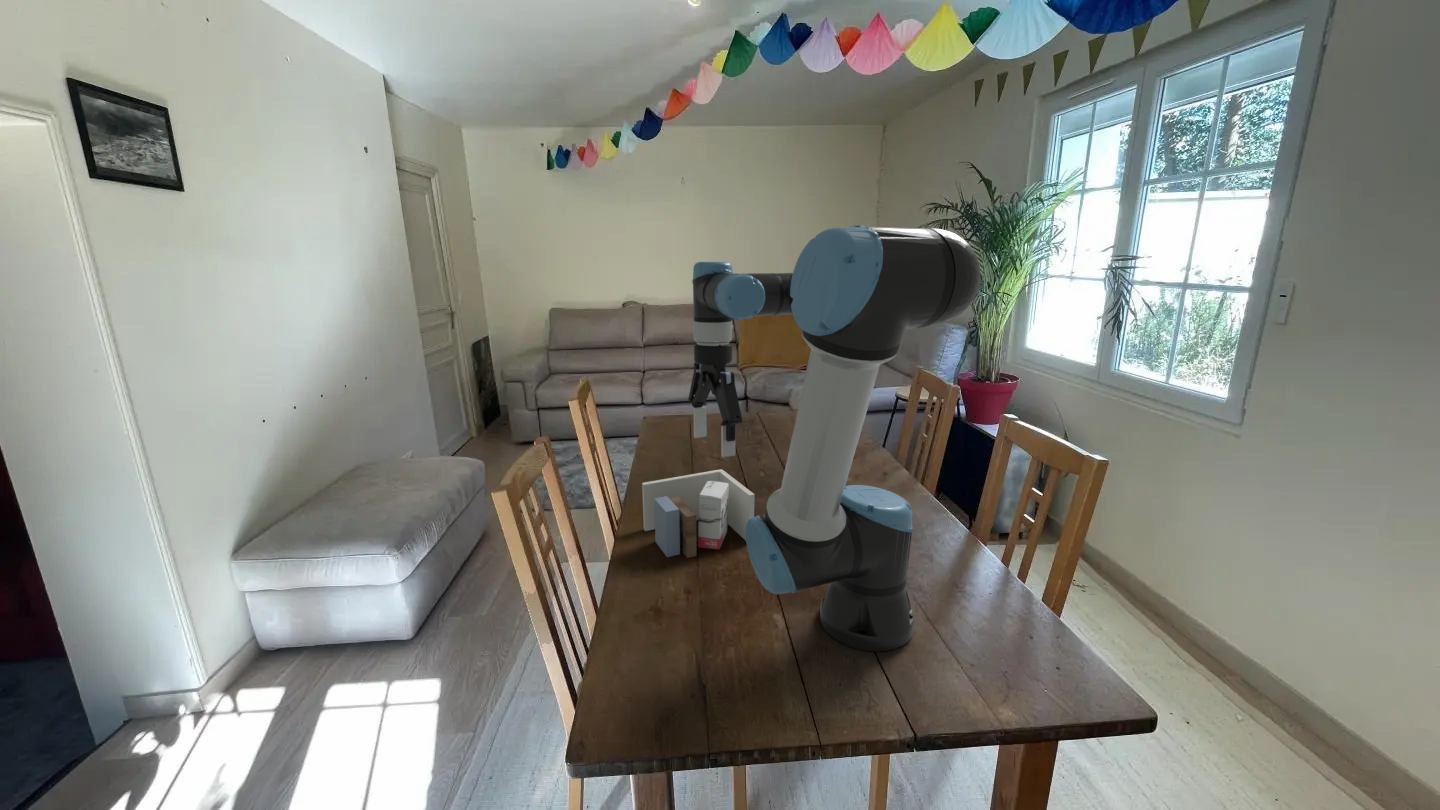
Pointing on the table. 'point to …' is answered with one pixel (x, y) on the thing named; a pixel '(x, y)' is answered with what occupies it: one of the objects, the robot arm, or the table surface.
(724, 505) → the ink box
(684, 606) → the table surface
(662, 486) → the white corner wall
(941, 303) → the robot arm
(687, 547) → the bookend
